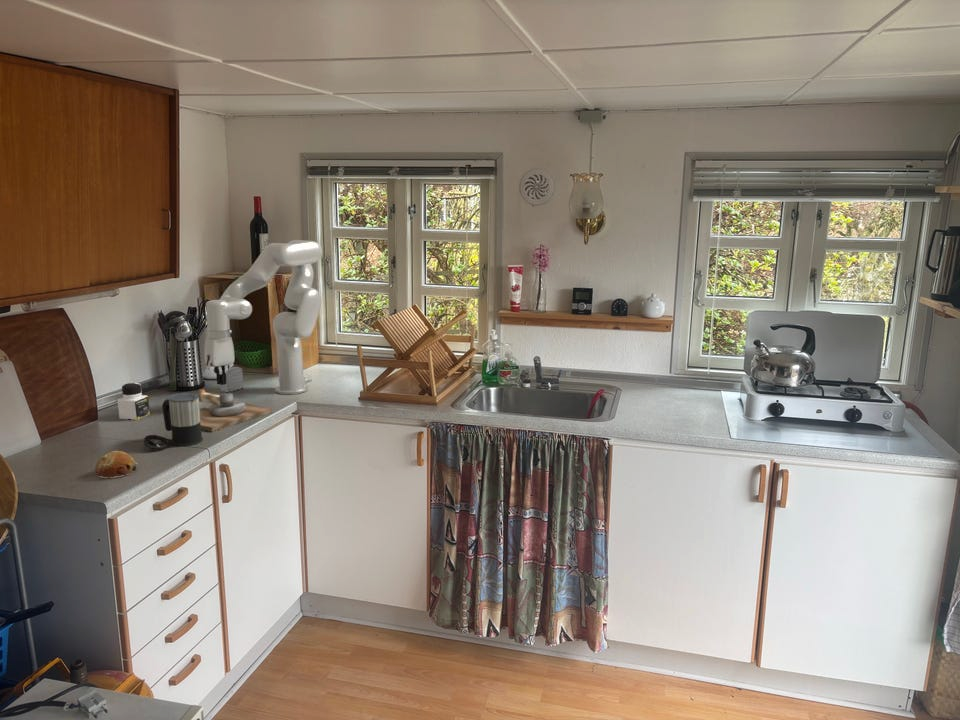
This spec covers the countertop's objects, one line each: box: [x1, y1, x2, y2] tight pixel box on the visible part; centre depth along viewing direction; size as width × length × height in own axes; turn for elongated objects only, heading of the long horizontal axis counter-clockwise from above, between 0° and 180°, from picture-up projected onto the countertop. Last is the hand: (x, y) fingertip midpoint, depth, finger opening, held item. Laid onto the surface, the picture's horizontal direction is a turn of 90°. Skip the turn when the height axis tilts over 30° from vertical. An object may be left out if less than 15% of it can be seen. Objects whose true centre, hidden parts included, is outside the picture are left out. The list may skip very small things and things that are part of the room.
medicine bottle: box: [117, 382, 151, 421], centre depth 255 cm, size 7×7×12 cm
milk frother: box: [143, 392, 204, 451], centre depth 225 cm, size 14×16×15 cm
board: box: [199, 402, 272, 432], centre depth 255 cm, size 26×22×2 cm
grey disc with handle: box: [197, 388, 245, 416], centre depth 257 cm, size 20×12×6 cm, turn 59°
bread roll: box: [94, 450, 138, 477], centre depth 203 cm, size 10×10×8 cm
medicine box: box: [219, 366, 244, 393], centre depth 291 cm, size 8×4×9 cm, turn 144°
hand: (221, 384), depth 265 cm, fingers closed
